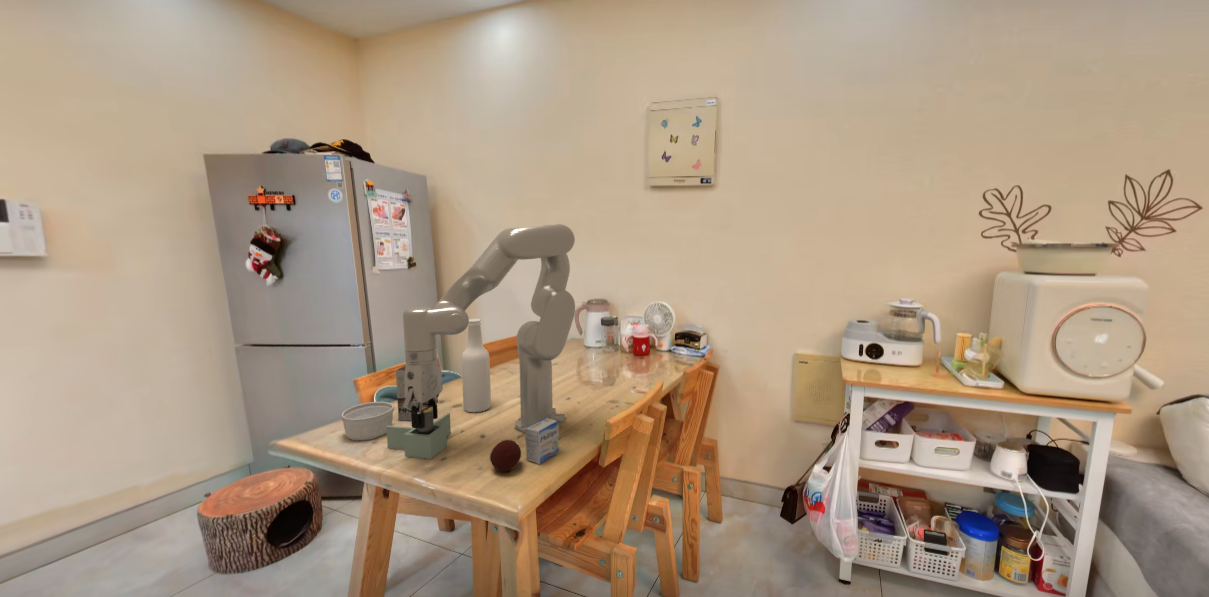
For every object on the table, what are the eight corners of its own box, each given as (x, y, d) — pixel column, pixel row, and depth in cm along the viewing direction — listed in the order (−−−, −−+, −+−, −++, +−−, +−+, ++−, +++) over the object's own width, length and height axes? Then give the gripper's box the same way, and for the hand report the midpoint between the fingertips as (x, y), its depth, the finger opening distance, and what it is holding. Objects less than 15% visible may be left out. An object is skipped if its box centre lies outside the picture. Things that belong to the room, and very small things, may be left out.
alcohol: (481, 414, 137) (477, 322, 133) (458, 411, 140) (454, 321, 136) (496, 405, 145) (493, 318, 141) (474, 402, 148) (470, 316, 144)
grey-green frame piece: (461, 433, 123) (460, 413, 122) (431, 459, 108) (429, 436, 108) (414, 429, 126) (413, 410, 125) (379, 453, 111) (377, 431, 110)
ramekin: (366, 446, 116) (364, 421, 115) (331, 438, 120) (329, 415, 119) (405, 427, 128) (403, 404, 127) (371, 420, 132) (370, 399, 132)
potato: (522, 457, 109) (521, 431, 108) (520, 475, 101) (519, 447, 100) (492, 459, 108) (492, 433, 107) (488, 477, 100) (487, 449, 99)
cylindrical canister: (438, 448, 114) (435, 405, 113) (429, 455, 111) (426, 411, 109) (424, 447, 115) (422, 404, 114) (415, 454, 111) (412, 410, 110)
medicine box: (539, 465, 106) (538, 431, 105) (525, 460, 108) (525, 427, 107) (559, 452, 112) (558, 420, 111) (546, 448, 115) (545, 417, 114)
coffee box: (418, 421, 132) (415, 370, 130) (397, 420, 132) (394, 370, 130) (430, 409, 141) (428, 362, 139) (411, 409, 141) (408, 362, 139)
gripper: (413, 365, 101) (418, 438, 103) (452, 348, 117) (455, 411, 119) (385, 363, 102) (390, 436, 104) (427, 346, 119) (431, 409, 121)
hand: (425, 422), depth 112 cm, fingers open, 5 cm apart
